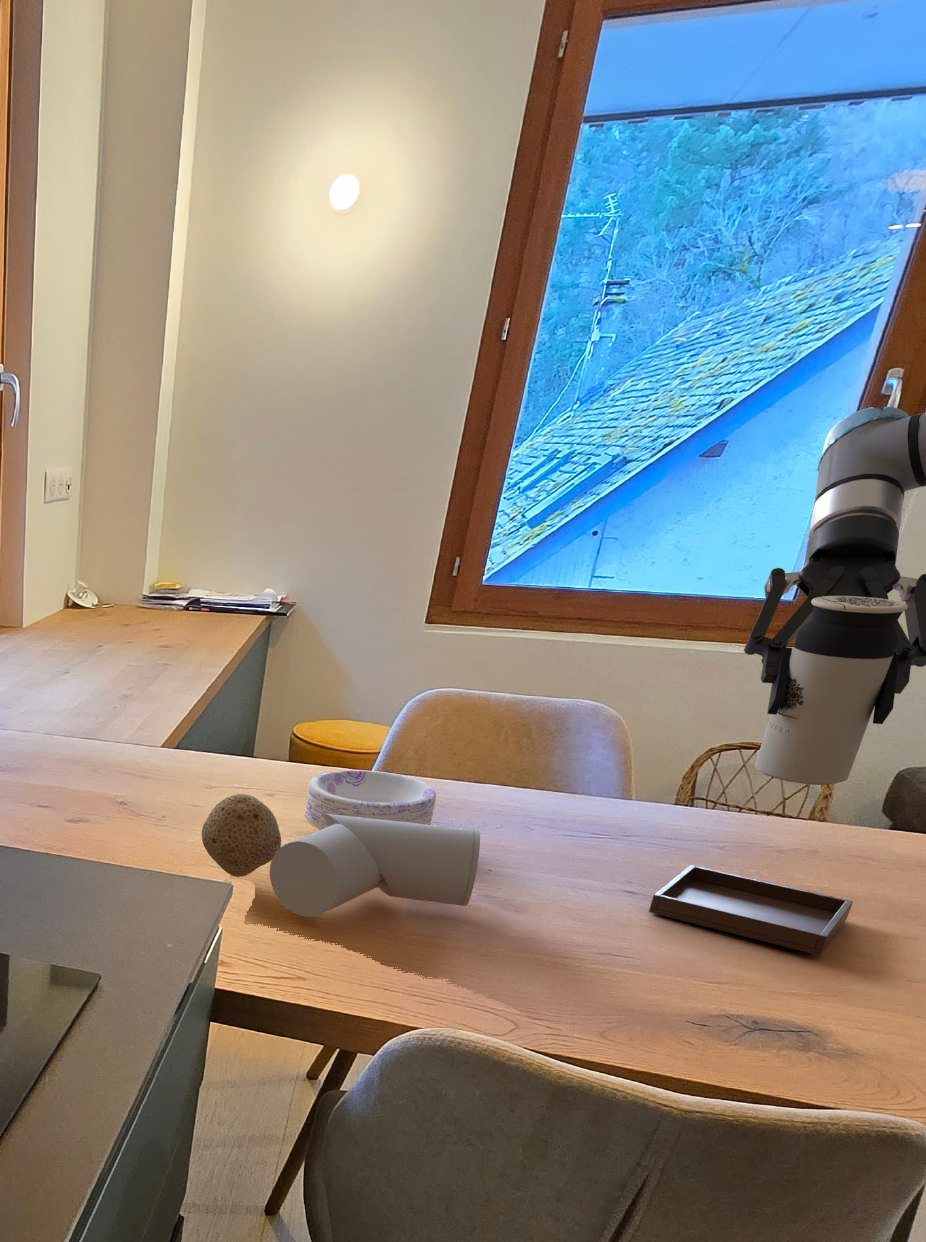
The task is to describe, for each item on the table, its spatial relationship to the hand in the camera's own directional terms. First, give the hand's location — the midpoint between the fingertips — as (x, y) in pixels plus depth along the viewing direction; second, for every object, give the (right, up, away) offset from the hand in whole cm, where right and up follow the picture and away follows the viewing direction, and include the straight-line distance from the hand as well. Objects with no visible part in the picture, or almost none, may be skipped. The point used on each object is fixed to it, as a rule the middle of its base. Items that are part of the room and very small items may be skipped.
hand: (828, 711), depth 106 cm
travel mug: (+2, -6, +6) cm, 8 cm away
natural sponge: (-55, -16, +19) cm, 61 cm away
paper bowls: (-35, -12, +30) cm, 48 cm away
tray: (-2, -21, +8) cm, 23 cm away
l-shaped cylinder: (-41, -19, +11) cm, 47 cm away
